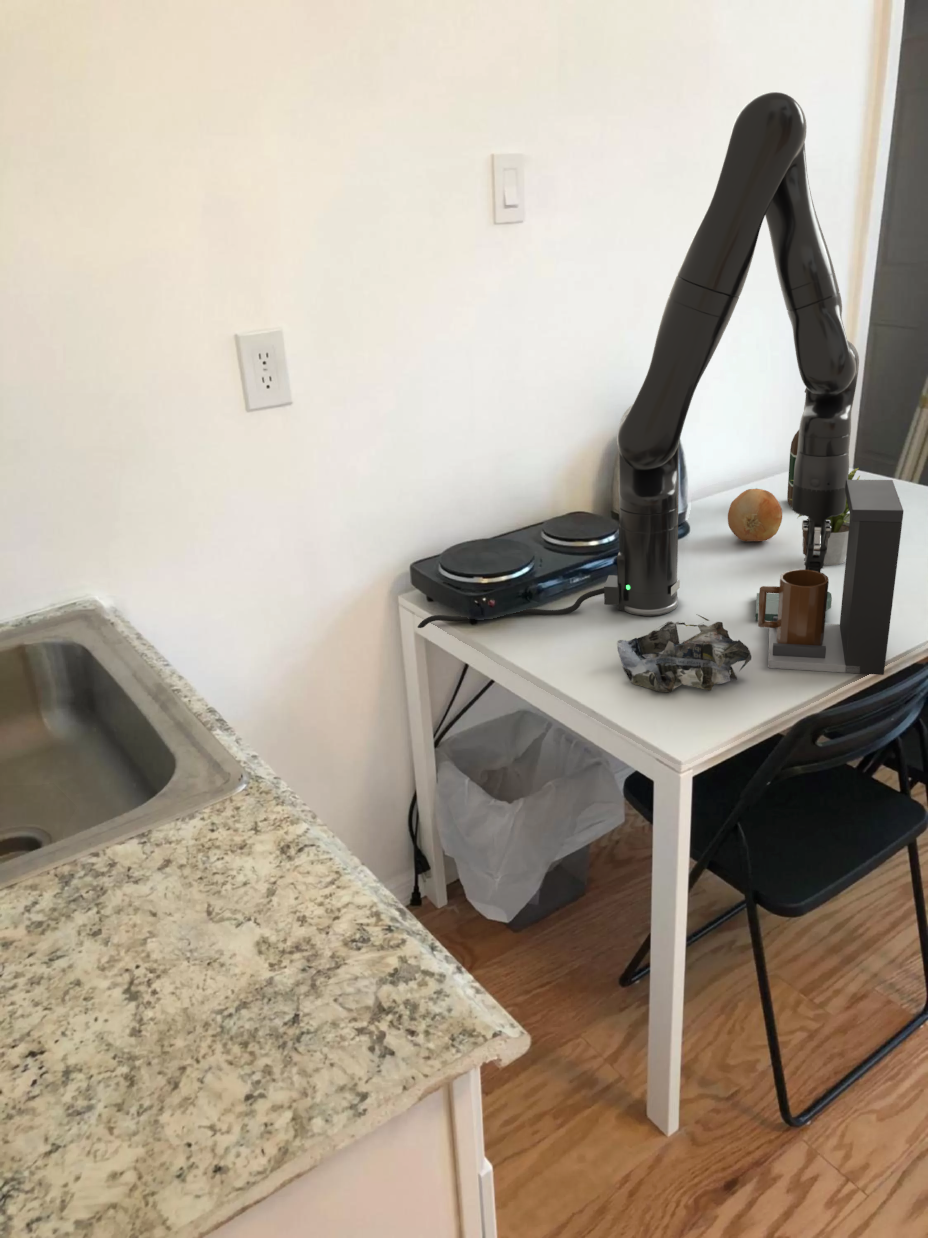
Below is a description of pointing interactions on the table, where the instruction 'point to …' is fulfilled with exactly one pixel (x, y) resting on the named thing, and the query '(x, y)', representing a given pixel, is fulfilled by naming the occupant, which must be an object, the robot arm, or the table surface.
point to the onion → (755, 515)
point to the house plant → (838, 534)
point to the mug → (797, 607)
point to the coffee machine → (857, 589)
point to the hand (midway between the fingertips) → (811, 588)
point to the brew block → (773, 605)
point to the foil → (682, 658)
